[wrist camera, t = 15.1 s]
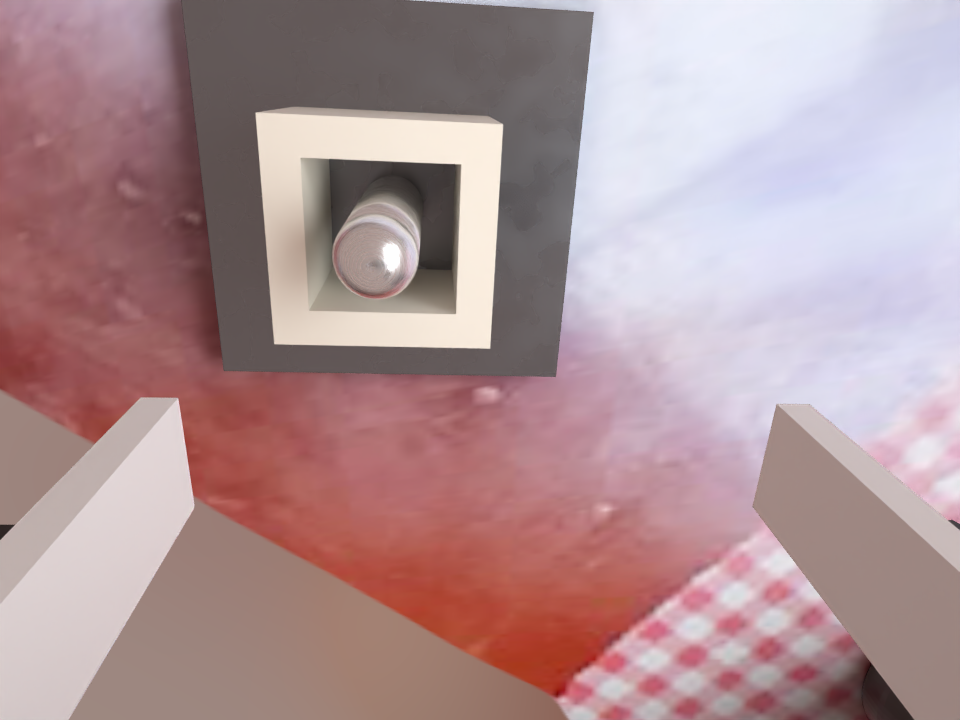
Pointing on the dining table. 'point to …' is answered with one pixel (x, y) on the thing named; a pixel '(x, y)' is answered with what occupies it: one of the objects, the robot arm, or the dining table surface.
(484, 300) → the collar
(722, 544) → the dining table surface
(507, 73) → the post base
